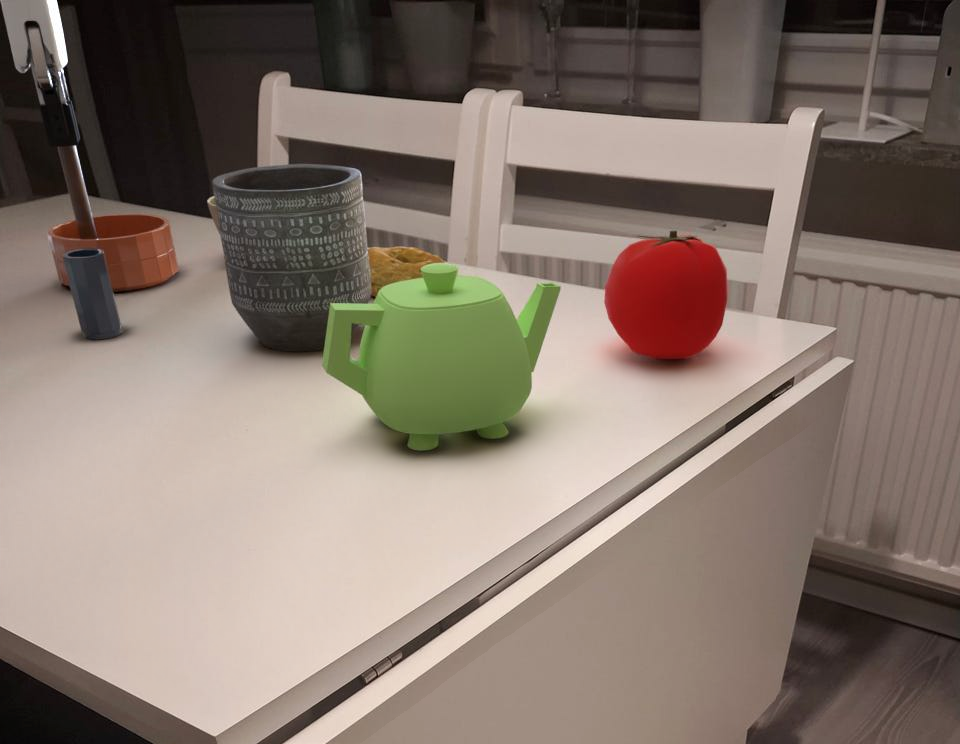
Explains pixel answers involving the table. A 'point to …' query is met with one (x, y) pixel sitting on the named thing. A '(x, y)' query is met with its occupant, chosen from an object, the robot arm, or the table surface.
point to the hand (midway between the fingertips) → (65, 142)
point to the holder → (92, 293)
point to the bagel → (397, 265)
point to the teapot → (441, 353)
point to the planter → (293, 248)
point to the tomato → (667, 296)
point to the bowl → (122, 248)
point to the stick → (77, 192)
